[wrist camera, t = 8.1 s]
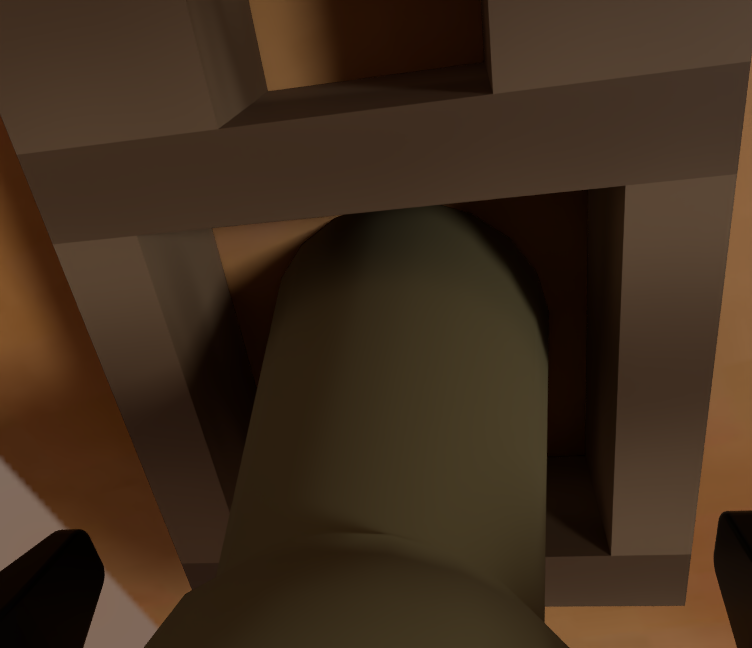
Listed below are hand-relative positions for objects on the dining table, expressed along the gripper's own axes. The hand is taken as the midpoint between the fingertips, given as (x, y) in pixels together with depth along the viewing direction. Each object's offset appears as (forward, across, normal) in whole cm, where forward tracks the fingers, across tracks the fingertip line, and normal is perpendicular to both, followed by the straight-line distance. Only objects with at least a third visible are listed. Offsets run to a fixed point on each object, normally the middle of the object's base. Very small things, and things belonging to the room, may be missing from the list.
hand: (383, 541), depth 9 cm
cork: (+6, 0, 0) cm, 6 cm away
